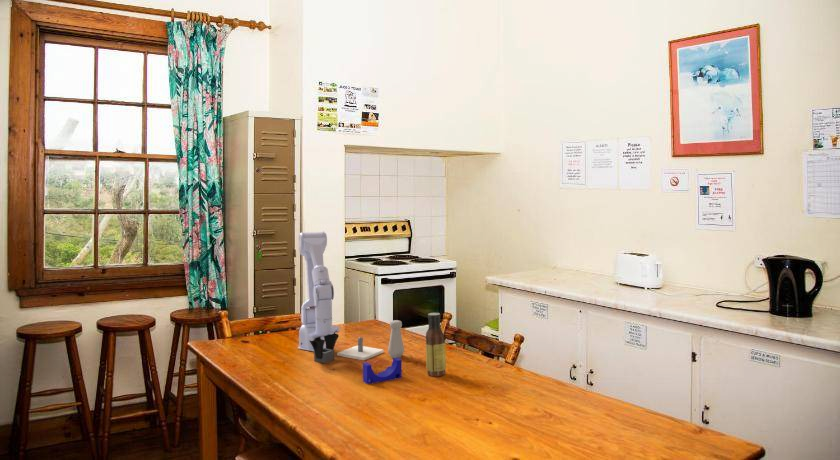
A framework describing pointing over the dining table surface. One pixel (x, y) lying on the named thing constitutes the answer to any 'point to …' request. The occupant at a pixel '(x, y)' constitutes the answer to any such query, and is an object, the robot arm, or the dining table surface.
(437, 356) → the sauce bottle
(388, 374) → the blue cradle stand
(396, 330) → the salt shaker
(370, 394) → the dining table surface
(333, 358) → the square frame block
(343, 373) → the dining table surface
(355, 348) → the peg base
